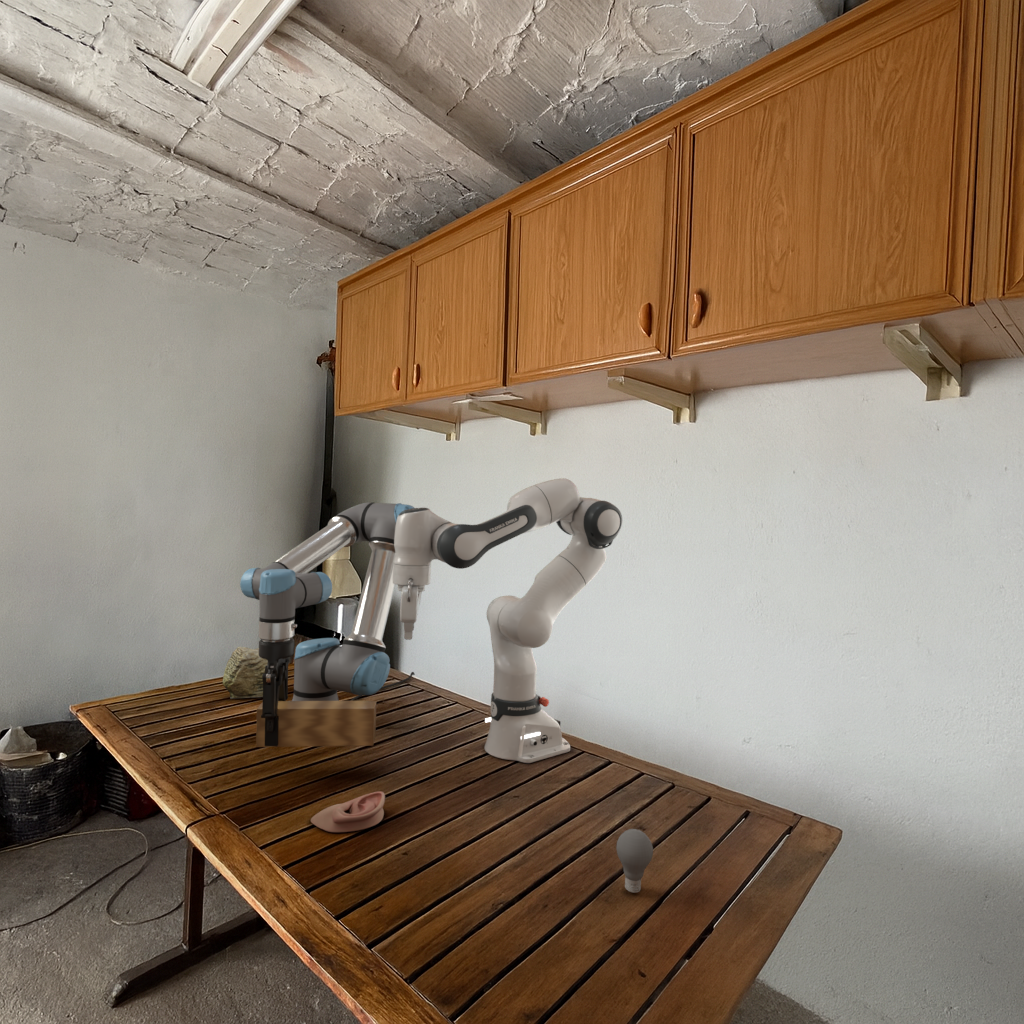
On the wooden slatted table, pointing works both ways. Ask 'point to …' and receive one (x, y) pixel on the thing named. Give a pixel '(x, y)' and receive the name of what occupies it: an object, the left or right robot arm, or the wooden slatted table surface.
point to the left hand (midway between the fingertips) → (274, 739)
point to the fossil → (245, 673)
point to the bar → (322, 723)
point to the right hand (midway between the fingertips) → (409, 634)
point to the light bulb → (634, 857)
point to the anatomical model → (352, 814)
